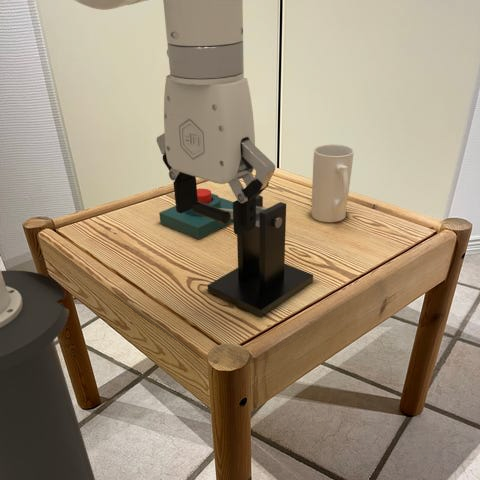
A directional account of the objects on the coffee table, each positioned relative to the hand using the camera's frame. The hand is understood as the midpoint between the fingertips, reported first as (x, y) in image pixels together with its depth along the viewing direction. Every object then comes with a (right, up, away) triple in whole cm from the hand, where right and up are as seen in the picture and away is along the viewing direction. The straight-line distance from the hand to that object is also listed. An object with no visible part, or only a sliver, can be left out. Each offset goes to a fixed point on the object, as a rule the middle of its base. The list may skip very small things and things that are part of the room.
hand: (214, 219), depth 62 cm
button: (-4, +9, +30) cm, 32 cm away
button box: (-4, +6, +32) cm, 33 cm away
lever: (+3, 0, +3) cm, 4 cm away
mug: (+20, +6, +32) cm, 38 cm away
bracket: (+6, -7, +13) cm, 16 cm away
